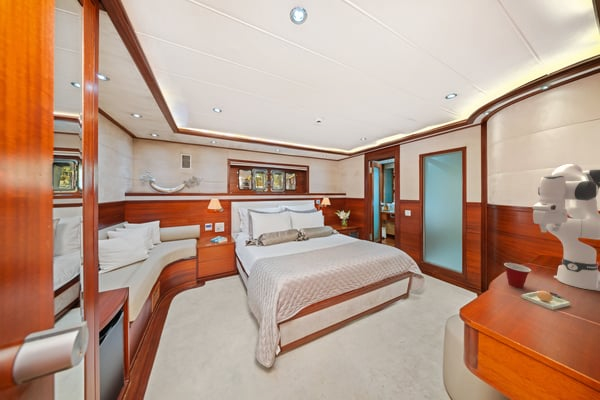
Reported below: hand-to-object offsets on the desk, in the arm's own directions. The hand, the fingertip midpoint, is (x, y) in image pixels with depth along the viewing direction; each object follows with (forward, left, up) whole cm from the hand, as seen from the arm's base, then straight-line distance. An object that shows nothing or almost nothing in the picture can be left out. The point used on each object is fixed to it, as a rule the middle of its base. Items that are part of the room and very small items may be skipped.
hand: (550, 231), depth 106 cm
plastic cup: (+5, -10, -34) cm, 36 cm away
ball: (+12, +5, -34) cm, 36 cm away
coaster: (+1, +2, -34) cm, 34 cm away
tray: (+12, +5, -34) cm, 37 cm away
